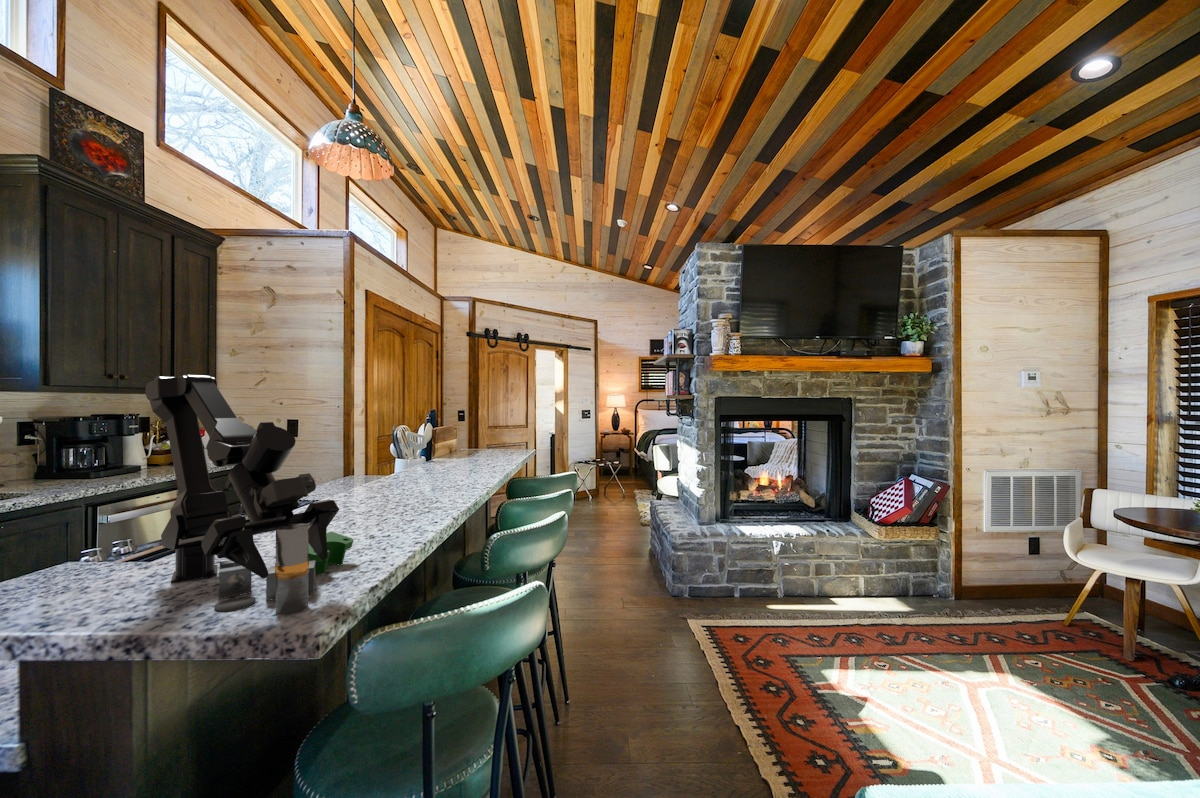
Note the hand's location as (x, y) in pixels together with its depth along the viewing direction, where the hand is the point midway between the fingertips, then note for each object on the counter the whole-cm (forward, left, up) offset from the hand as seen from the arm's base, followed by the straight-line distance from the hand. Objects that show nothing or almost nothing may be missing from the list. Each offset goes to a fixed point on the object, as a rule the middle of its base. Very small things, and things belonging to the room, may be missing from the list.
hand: (297, 567), depth 77 cm
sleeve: (-1, -1, -7) cm, 7 cm away
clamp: (-20, +6, -7) cm, 22 cm away
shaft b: (-9, 0, -7) cm, 11 cm away
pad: (-9, -8, -7) cm, 14 cm away
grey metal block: (-16, -8, -7) cm, 19 cm away
